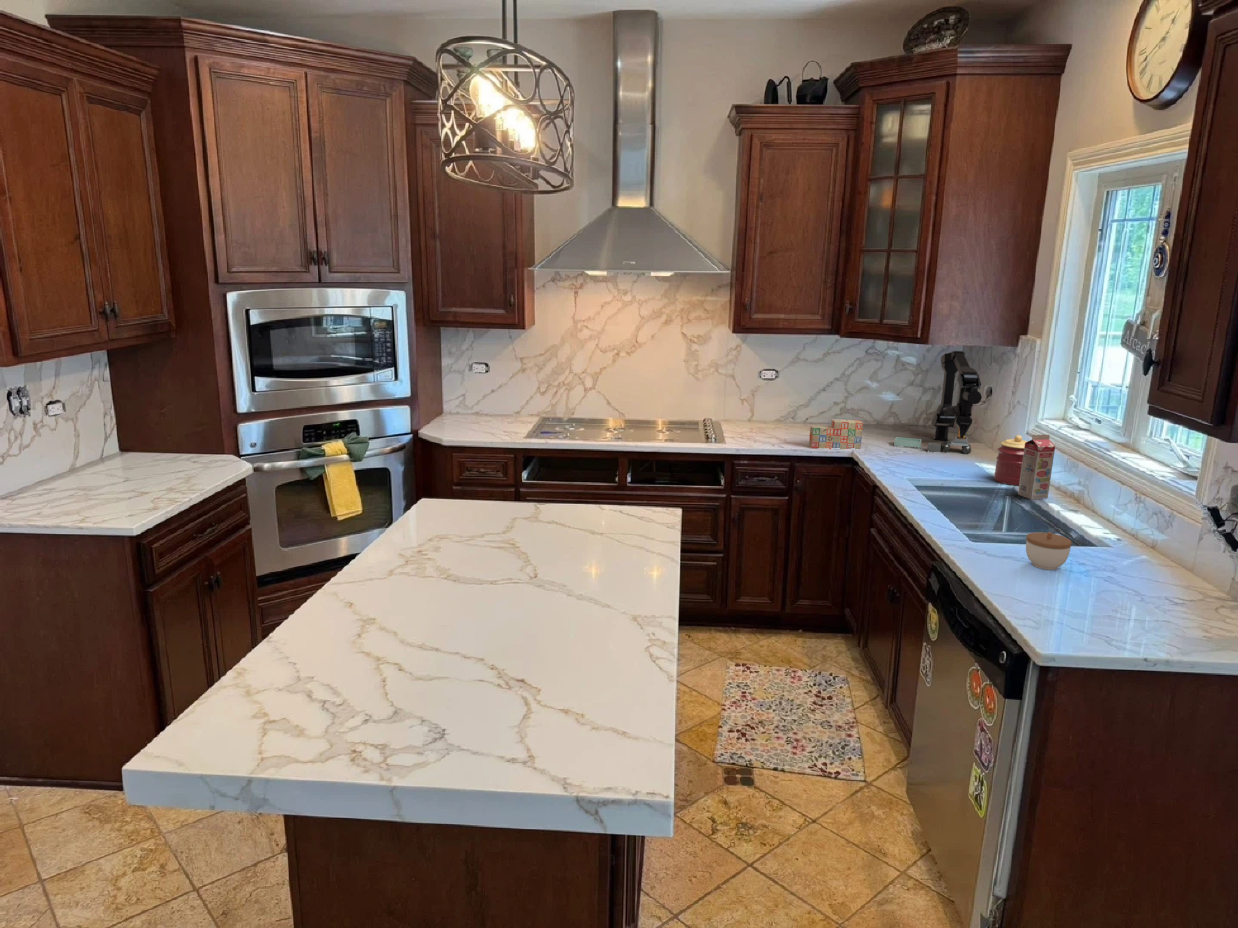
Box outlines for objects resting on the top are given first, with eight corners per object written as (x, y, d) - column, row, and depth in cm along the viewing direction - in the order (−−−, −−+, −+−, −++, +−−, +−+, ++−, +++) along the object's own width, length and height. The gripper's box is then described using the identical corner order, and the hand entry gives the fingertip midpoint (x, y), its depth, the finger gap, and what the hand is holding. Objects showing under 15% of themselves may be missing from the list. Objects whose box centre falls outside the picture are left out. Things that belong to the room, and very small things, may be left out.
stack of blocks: (811, 448, 358) (813, 420, 355) (808, 445, 364) (810, 418, 361) (860, 450, 357) (863, 422, 354) (857, 447, 363) (860, 419, 360)
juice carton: (1017, 494, 291) (1026, 433, 286) (1034, 493, 292) (1042, 432, 287) (1031, 499, 285) (1039, 437, 279) (1047, 498, 286) (1056, 436, 281)
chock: (927, 450, 360) (928, 442, 359) (939, 451, 358) (940, 443, 357) (927, 452, 356) (928, 444, 355) (939, 453, 354) (940, 445, 353)
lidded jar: (1018, 566, 220) (1023, 533, 218) (1028, 556, 228) (1032, 523, 226) (1063, 576, 213) (1068, 542, 211) (1071, 565, 222) (1076, 532, 219)
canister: (1010, 487, 301) (1017, 439, 296) (985, 478, 313) (991, 432, 308) (1039, 485, 304) (1046, 438, 300) (1014, 476, 316) (1020, 431, 312)
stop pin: (957, 440, 357) (959, 424, 356) (964, 441, 356) (965, 425, 355) (957, 441, 355) (959, 425, 353) (964, 442, 354) (966, 426, 352)
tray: (894, 443, 371) (895, 437, 371) (920, 445, 368) (921, 439, 367) (894, 446, 365) (894, 439, 365) (920, 448, 362) (921, 442, 361)
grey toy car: (940, 448, 363) (941, 434, 362) (970, 451, 359) (971, 437, 357) (940, 452, 356) (941, 438, 354) (970, 454, 352) (972, 440, 350)
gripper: (945, 396, 363) (941, 430, 366) (945, 402, 346) (941, 438, 349) (972, 397, 359) (968, 433, 363) (974, 404, 342) (969, 441, 346)
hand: (961, 436), depth 355 cm, fingers open, 8 cm apart
